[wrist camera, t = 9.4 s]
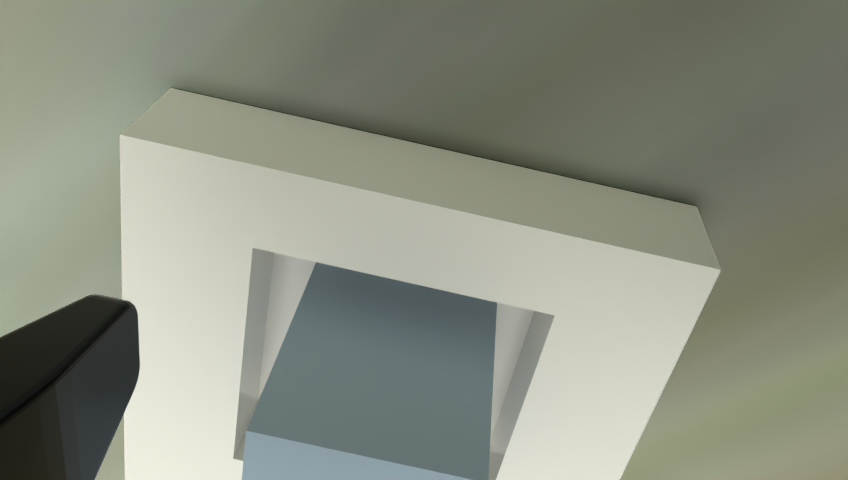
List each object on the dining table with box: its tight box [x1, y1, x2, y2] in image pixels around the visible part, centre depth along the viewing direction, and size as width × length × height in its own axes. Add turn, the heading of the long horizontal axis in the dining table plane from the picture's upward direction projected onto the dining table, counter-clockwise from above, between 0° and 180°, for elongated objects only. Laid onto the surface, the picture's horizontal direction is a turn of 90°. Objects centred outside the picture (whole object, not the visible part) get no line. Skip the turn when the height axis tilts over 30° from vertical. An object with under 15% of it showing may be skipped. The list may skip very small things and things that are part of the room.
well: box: [120, 88, 721, 480], centre depth 22 cm, size 14×12×3 cm
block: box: [242, 262, 497, 480], centre depth 20 cm, size 5×5×7 cm
